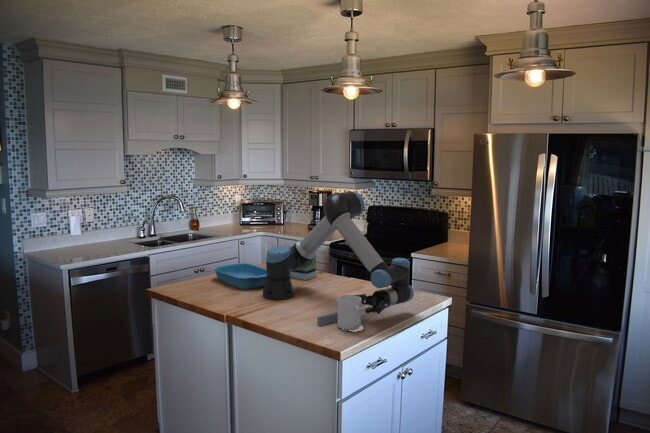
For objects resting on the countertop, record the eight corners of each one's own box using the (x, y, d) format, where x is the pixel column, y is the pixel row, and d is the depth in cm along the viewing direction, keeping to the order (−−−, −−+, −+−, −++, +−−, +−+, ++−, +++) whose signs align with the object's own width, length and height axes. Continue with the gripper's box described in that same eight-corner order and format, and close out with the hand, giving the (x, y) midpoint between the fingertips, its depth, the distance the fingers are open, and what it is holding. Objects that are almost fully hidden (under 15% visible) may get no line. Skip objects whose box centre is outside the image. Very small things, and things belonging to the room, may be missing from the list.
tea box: (316, 277, 288) (316, 250, 286) (306, 280, 280) (306, 253, 278) (294, 273, 296) (294, 247, 294) (283, 276, 288) (283, 250, 286)
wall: (319, 326, 209) (319, 317, 209) (317, 325, 211) (317, 316, 210) (352, 317, 221) (352, 309, 220) (349, 316, 222) (350, 308, 222)
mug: (348, 320, 215) (349, 293, 213) (370, 328, 206) (371, 300, 205) (332, 326, 208) (333, 297, 207) (354, 334, 200) (354, 304, 198)
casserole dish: (207, 278, 282) (207, 266, 281) (243, 272, 297) (243, 260, 296) (243, 293, 254) (243, 279, 254) (280, 286, 269) (280, 273, 268)
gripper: (406, 314, 209) (368, 325, 196) (363, 300, 228) (326, 309, 215) (407, 296, 208) (369, 306, 195) (363, 283, 227) (326, 291, 214)
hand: (346, 307), depth 205 cm, fingers open, 13 cm apart
